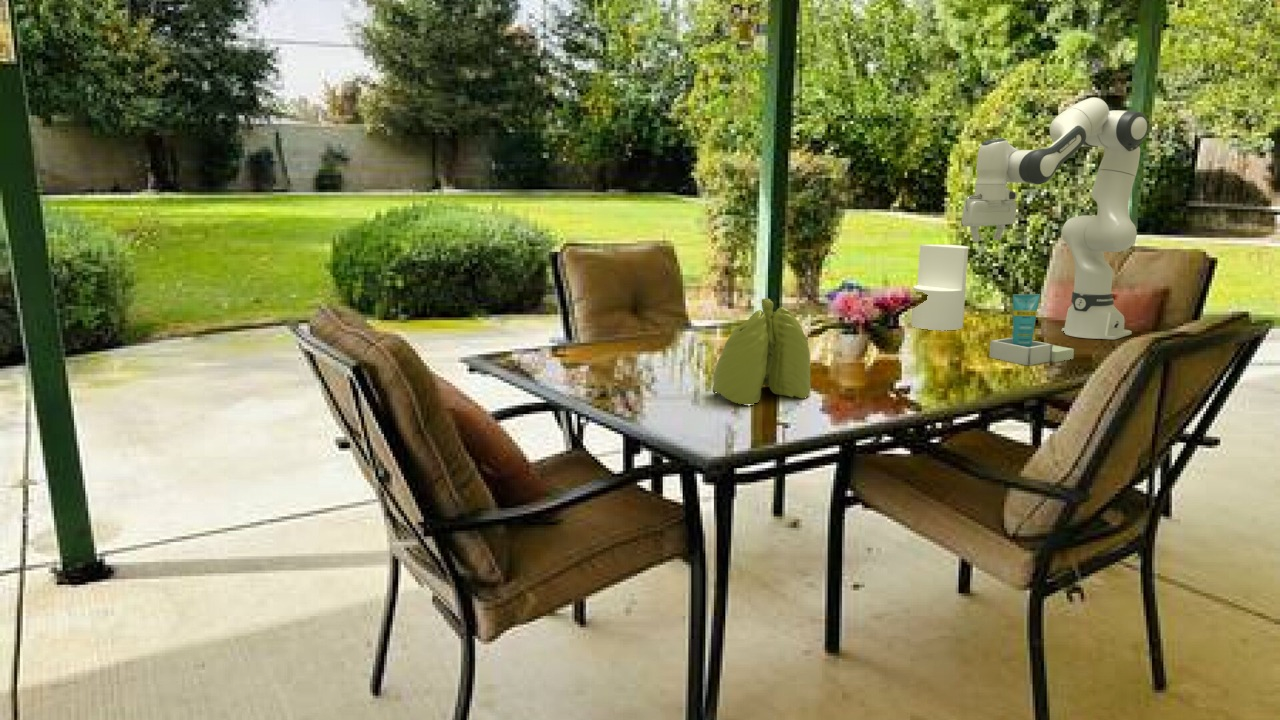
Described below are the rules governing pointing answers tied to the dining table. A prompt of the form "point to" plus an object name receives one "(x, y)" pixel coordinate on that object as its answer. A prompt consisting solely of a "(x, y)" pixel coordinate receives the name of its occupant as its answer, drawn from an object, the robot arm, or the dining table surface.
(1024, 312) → the tube
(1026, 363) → the grey open tray
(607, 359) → the dining table surface
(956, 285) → the white chair
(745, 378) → the lungs
